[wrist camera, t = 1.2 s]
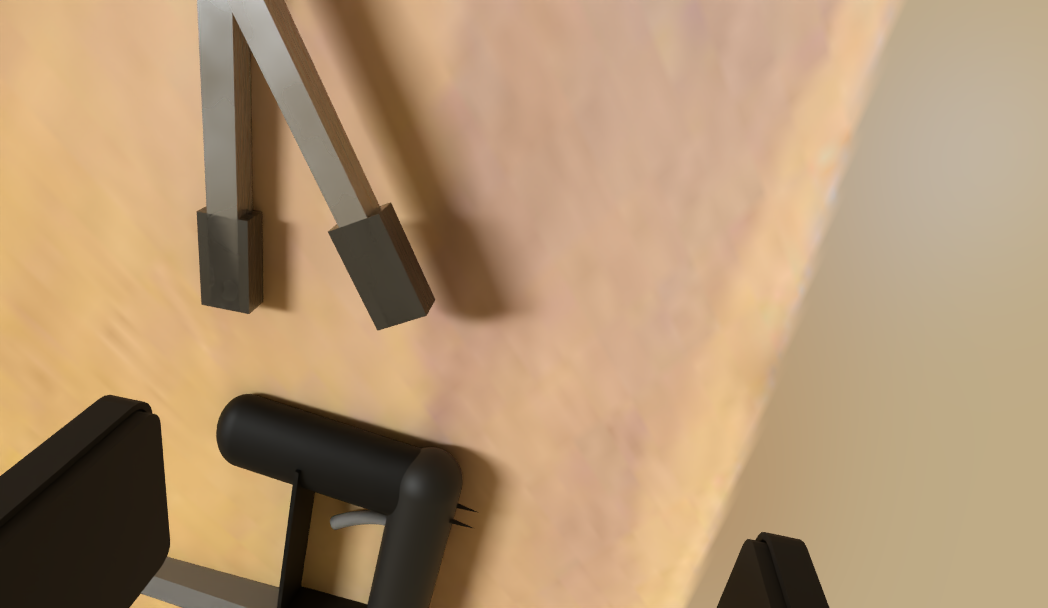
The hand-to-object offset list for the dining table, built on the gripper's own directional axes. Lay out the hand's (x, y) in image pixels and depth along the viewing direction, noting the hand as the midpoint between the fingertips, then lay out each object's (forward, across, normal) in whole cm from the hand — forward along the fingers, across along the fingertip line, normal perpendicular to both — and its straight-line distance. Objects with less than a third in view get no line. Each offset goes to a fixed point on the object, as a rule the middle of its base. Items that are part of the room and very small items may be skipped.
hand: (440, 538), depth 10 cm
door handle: (+17, +9, +20) cm, 28 cm away
